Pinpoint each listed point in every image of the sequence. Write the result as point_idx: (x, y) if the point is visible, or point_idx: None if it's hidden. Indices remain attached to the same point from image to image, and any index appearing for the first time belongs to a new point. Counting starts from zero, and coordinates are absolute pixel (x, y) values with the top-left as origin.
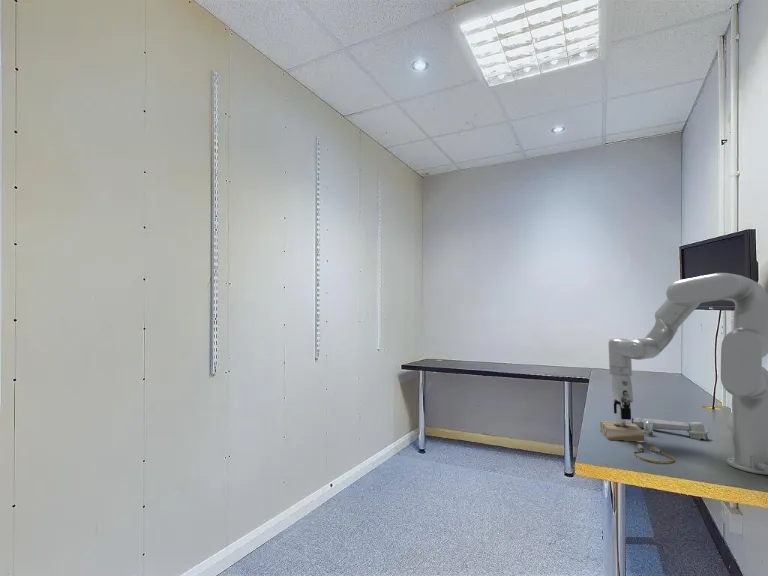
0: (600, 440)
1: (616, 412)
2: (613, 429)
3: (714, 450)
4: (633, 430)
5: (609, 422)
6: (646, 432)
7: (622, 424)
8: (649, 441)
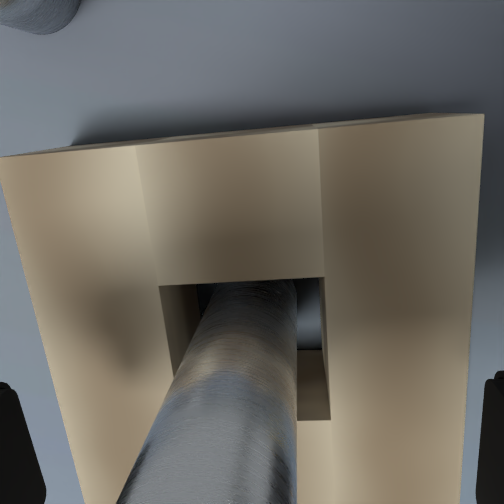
0: (461, 488)
1: (30, 490)
2: (461, 469)
3: None
4: (458, 256)
5: (114, 444)
6: (55, 4)
7: (295, 369)
8: (349, 39)
